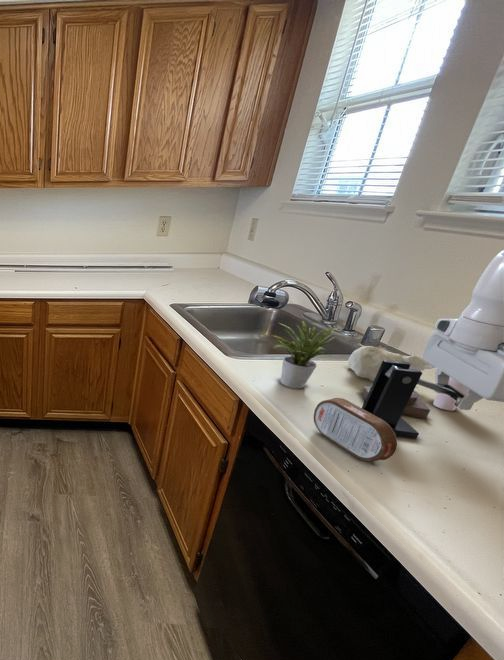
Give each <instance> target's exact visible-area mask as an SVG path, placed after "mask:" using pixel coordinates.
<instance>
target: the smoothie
mask: <svg viewBox="0 0 504 660" xmlns="http://www.w3.org/2000/svg"><path fill="white" fill-rule="evenodd" d="M448 385H450V386H452V387H454V388H455V389H457V390H458V391H460V392H461V393H463V394H464V395H467V394H468V393H466V391H467V389H468V388H467V387H466V386H464V385H463V384H461V383H460V382H458V381H456V380H455V379H453V378H452V377H449V383H448ZM455 402H456V401H455V400H454V399H453V398H451V397H450V396H448V395H446V394H442V393H437V392H436V394H435V397H434V399H433V402H432V404H433V405H434V407H437V408H438V409H442V410H446V411H455V410H456V409H457V408H458V407H457V406H455Z"/></svg>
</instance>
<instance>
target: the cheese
mask: <svg viewBox="0 0 504 660" xmlns="http://www.w3.org/2000/svg"><path fill="white" fill-rule="evenodd" d="M409 355H410V356H409ZM409 355H402V354H400V353H396V352H395V353H394V352H390V351H387V350H385V349H382V348H380V347H377V346H373V345H363V346H361V347H358V348H357V349H355V350H353V352H352V353H351V354H350V356H349V357H348V360H347V366H348V367H349V368H350V369H351V370H352V371H353V372H354V373H355V375H356V376H357V377H360V378H363V379H369V380H370V381H371V382H372V383H373V382H374V379H375V377H376V375H377V373H378V370H379V368H380V366H381V364H382V362H383V360H385V361H395V362H405V363H409V364H411V365H410V367H409V369H408V370H417V371H421V372H423V371H424V370H432V369H435V368H436V367H434V366H433V365H431V364H430V363H428V362H427V361H425V360H424V359H423V357H420V356H417V355H416V354H415V353H413V352H409Z"/></svg>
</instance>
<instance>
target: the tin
mask: <svg viewBox="0 0 504 660" xmlns="http://www.w3.org/2000/svg"><path fill="white" fill-rule="evenodd" d="M313 422H314V425H315V427H316V429H317V430H318V432H319V433H320V434H321V435H323V437H325V438H326V439H328V440H330V441H331V442H333V444H336V445H337V446H338V447H340V448H341V449H343V450H344V451H346V452H348V453H349V454H351V455H352V456H354V457H355V458H357V459H358V460H361V461H365V462H376V461H386V460H388V459H390V458H391V457H393V456H394V454H395V453H396V452H397V448H398V438H397V436H396V435H395V433H394V431H393V429H392V428H391V427H390V425H389V424H387V423H386V422H385V421H384V420H382V419H380V418H378V417H377V416H375V415H373V414H371V413H369V412H367V411H366V410H364V409H362V407H360V406H358V405H356V404H355V403H353V402H351V401H349V400H347V399H346V398H341V397H334V398H329V399H325V400H322V401H320V402H318V404H317V405H316V406H315V408H314V411H313Z"/></svg>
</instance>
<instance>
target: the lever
mask: <svg viewBox="0 0 504 660" xmlns="http://www.w3.org/2000/svg"><path fill="white" fill-rule="evenodd" d="M393 368H398V369H403V368H401V367H398V366H395V365H392V366H391V368H390V369H389V370H388V371H387V372H386V373H385V375H386V376H387V377H390V375H391V372H392V370H393ZM417 385H419V386H421V387H424V388H427V389H430V390H432V391H434V390H435V391H434V392H436V391H438V392H441V393H444V394H446V395H448V396H450V397H451V398H453V399H454V400H455V401H456V400H457V399H458V398H463V397H464V396H466V395H464V394H463V393H461V392H460V391H458V390H457V389H455V388H454V387H452V386H450V385H444V386H439V385H436V384H435V382H434V383H433V382H430V381H429V380H425V379H422V378H420V379H419V381H418V383H417Z"/></svg>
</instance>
